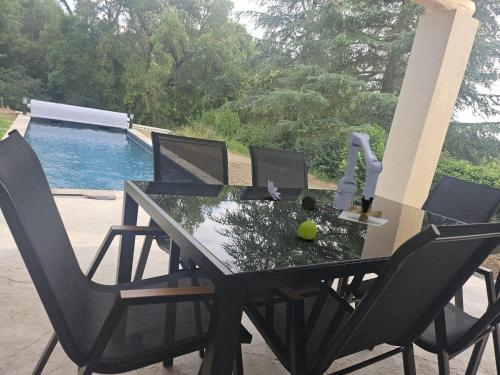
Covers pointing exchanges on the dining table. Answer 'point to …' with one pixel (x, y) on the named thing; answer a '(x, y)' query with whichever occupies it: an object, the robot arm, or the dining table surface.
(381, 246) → the dining table surface
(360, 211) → the rod
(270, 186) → the water lily
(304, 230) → the tennis ball
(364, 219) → the ridge
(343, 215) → the slab
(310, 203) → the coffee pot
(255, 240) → the dining table surface
